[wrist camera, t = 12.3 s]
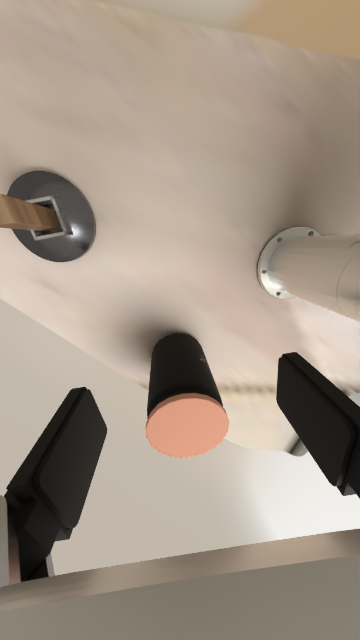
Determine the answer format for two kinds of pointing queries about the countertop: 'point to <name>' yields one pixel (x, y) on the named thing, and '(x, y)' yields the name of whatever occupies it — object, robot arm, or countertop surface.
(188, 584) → the robot arm
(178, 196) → the countertop surface
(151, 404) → the coffee jar
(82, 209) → the round metal socket base
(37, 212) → the tan wooden beam
